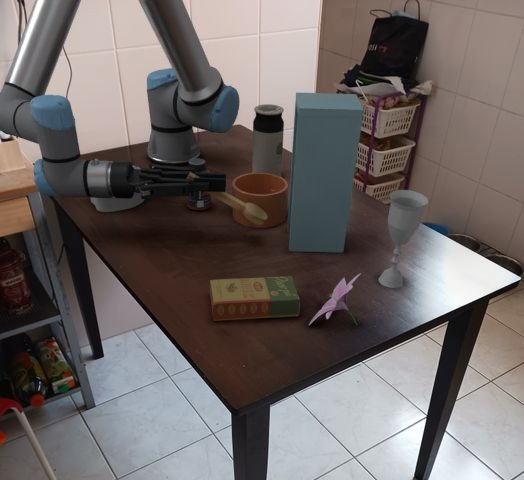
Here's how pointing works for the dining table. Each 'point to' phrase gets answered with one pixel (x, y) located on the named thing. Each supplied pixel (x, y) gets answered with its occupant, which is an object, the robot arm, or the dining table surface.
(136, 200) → the lumpy-topped squat cylinder
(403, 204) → the chalice
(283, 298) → the carton
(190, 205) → the supplement bottle
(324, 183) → the teal bin
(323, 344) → the dining table surface
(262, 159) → the travel mug
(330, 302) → the lily
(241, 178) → the pot
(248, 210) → the tan disc-ended rod
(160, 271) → the dining table surface
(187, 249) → the dining table surface
